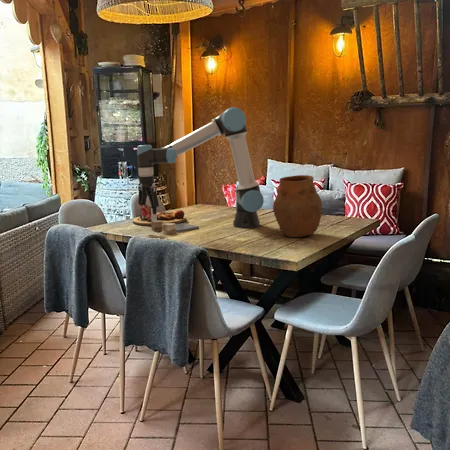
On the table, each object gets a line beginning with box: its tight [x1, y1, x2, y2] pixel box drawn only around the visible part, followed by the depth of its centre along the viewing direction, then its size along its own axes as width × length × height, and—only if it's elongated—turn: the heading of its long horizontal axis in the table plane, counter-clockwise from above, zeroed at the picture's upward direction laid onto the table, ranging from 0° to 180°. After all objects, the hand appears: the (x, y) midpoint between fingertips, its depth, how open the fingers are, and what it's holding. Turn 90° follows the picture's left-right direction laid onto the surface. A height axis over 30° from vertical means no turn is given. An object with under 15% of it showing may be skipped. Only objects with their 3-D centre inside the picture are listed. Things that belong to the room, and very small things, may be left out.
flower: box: [139, 204, 158, 221], centre depth 224 cm, size 10×9×8 cm
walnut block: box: [150, 220, 163, 232], centre depth 235 cm, size 5×5×5 cm
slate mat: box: [175, 222, 200, 233], centre depth 239 cm, size 14×14×1 cm
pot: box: [272, 174, 323, 238], centre depth 216 cm, size 24×24×30 cm
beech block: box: [161, 223, 177, 235], centre depth 227 cm, size 5×5×5 cm
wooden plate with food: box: [132, 209, 187, 227], centre depth 260 cm, size 32×32×8 cm
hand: (149, 219), depth 225 cm, fingers closed on flower, 8 cm apart
